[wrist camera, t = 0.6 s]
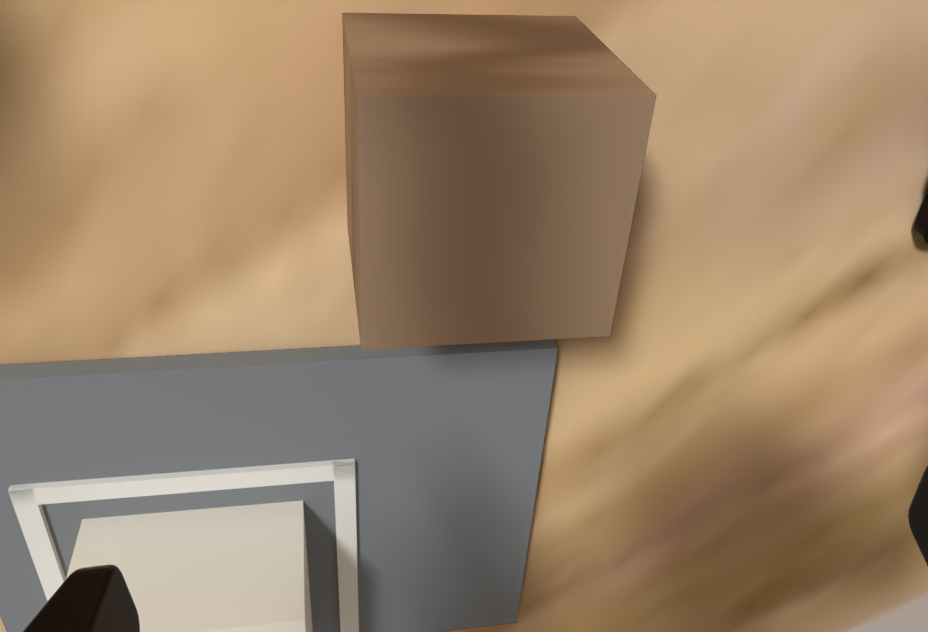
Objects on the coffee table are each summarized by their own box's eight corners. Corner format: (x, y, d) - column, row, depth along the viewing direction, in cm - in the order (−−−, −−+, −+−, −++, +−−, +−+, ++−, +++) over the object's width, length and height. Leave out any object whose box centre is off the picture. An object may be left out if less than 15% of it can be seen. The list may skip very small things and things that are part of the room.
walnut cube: (574, 15, 18) (655, 95, 14) (547, 220, 21) (609, 336, 17) (342, 11, 17) (357, 95, 13) (347, 226, 20) (360, 349, 16)
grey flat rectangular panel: (552, 335, 23) (560, 352, 22) (511, 617, 30) (516, 636, 29) (-87, 369, 20) (-100, 390, 19) (34, 670, 27) (28, 693, 26)
